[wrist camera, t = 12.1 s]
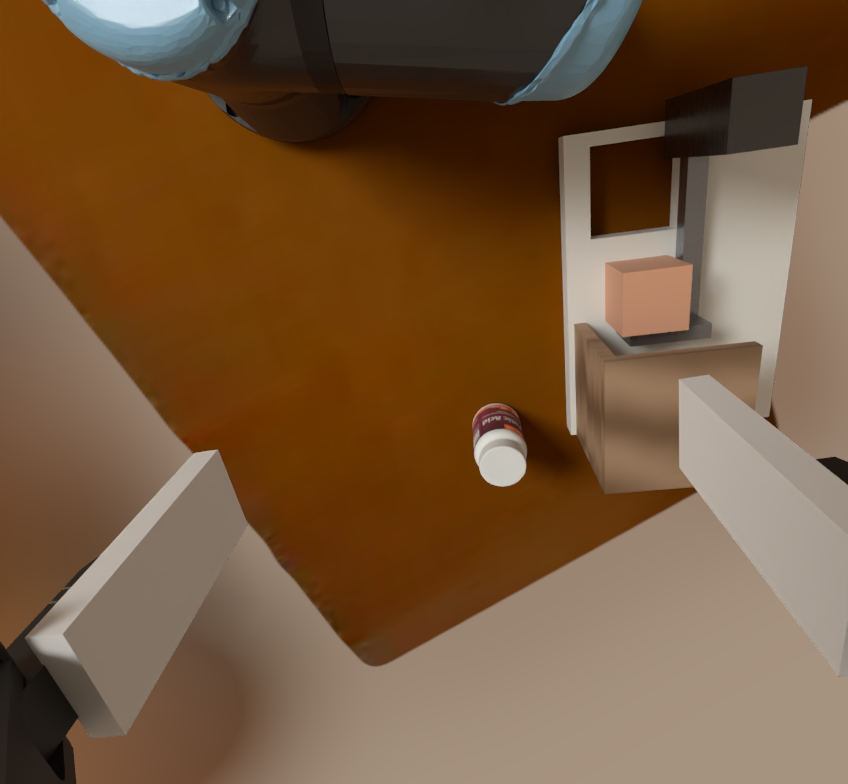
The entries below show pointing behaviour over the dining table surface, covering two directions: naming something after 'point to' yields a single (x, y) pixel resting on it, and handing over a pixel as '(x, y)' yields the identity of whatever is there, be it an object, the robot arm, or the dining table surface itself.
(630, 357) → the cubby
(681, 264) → the cube
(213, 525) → the robot arm
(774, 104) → the grey u-shaped bracket
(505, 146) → the dining table surface
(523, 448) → the pill bottle
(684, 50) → the dining table surface
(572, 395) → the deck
